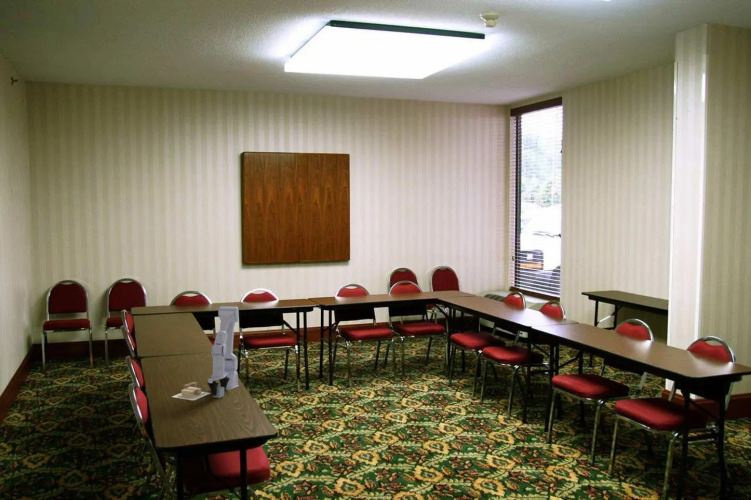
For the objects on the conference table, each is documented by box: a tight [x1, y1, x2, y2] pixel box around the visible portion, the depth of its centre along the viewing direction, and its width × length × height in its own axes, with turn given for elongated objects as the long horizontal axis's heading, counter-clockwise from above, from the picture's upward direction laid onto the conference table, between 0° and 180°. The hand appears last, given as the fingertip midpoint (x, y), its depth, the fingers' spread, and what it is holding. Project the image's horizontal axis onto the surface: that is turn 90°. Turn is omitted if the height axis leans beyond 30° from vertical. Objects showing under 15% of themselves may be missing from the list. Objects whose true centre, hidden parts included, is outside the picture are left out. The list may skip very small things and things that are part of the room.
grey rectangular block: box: [212, 385, 225, 399], centre depth 328 cm, size 4×4×5 cm
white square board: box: [171, 391, 211, 401], centre depth 329 cm, size 14×14×1 cm
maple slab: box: [180, 387, 202, 398], centre depth 329 cm, size 7×7×3 cm
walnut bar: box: [182, 381, 199, 390], centre depth 339 cm, size 8×3×3 cm, turn 158°
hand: (218, 393), depth 328 cm, fingers open, 7 cm apart
